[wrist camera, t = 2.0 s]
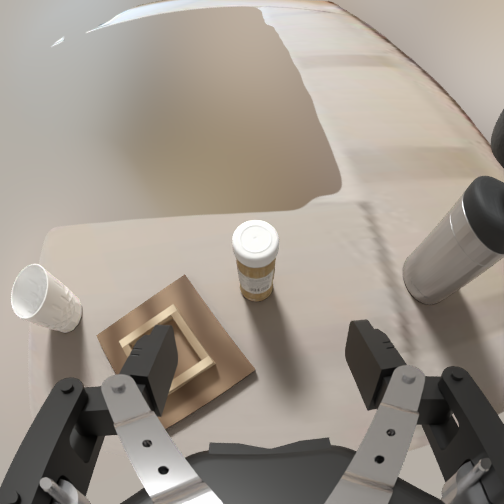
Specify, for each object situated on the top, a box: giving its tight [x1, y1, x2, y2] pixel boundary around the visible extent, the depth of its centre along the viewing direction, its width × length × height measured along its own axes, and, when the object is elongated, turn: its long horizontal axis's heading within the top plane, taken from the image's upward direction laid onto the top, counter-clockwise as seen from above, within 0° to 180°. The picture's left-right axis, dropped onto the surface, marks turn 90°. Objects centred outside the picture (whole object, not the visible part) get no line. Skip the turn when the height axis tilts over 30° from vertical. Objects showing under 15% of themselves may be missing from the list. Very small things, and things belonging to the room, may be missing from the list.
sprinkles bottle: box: [232, 220, 279, 301], centre depth 33 cm, size 5×5×13 cm
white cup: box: [11, 264, 82, 333], centre depth 33 cm, size 8×8×10 cm
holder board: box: [97, 275, 255, 429], centre depth 33 cm, size 16×16×3 cm
